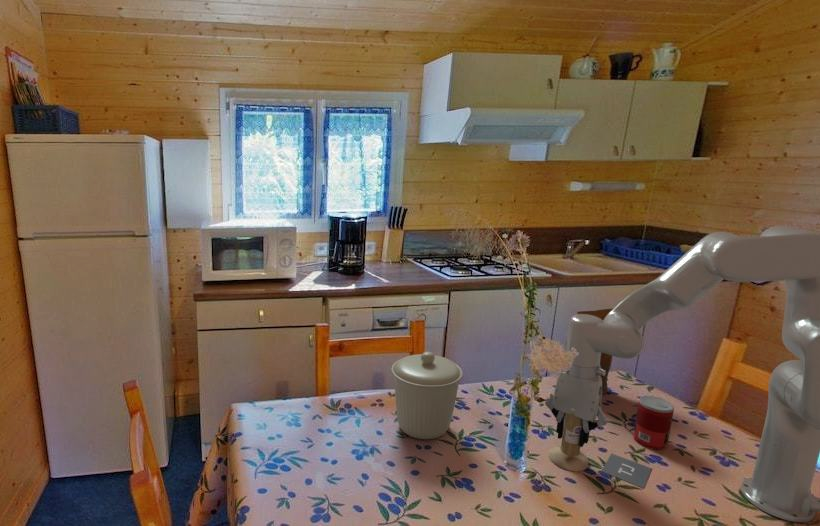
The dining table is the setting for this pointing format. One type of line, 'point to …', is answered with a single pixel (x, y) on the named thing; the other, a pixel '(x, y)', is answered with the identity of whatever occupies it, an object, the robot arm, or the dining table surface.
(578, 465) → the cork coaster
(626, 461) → the tile
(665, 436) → the canned food
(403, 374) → the canister
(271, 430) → the dining table surface
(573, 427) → the sprinkles bottle
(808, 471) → the robot arm
